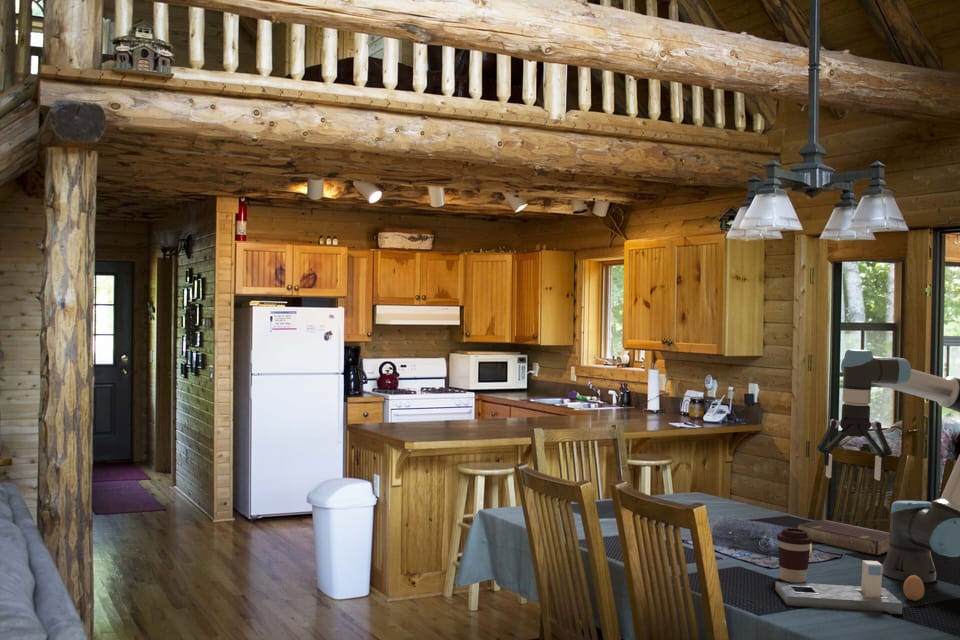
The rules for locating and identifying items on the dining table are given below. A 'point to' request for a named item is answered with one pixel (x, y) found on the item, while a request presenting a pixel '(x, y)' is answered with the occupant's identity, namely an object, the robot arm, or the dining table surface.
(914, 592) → the egg
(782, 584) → the panel
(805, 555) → the coffee cup
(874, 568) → the plug
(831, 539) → the hardback book
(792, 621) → the dining table surface
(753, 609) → the dining table surface
